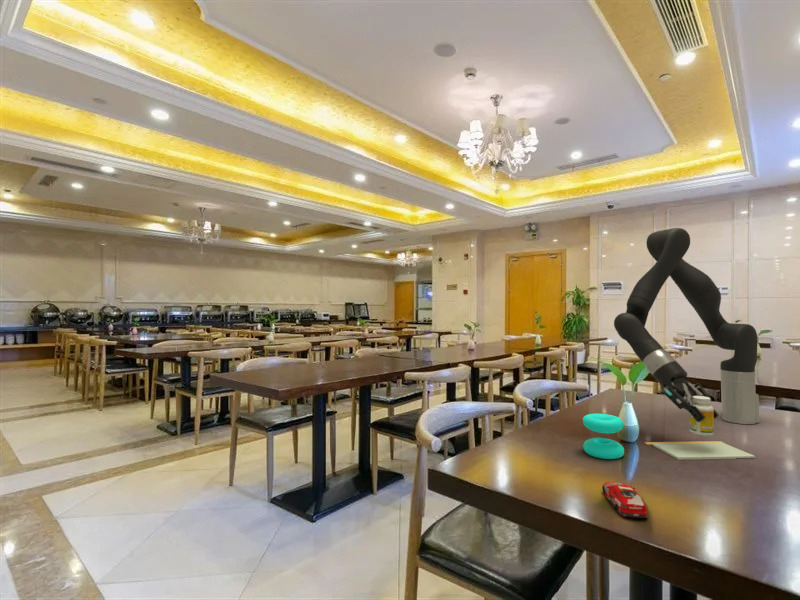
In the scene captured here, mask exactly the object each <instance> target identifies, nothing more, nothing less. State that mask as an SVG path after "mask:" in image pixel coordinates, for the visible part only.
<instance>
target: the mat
mask: <svg viewBox="0 0 800 600" xmlns="http://www.w3.org/2000/svg"><path fill="white" fill-rule="evenodd" d="M652 446H653V447H654V448H656V449H658V450H660V451H662V452H663V453H665V454H667V455H668V456H671V457H673V458H675V459H677V460H678V461H681V460H684V461H685V460H689V461H690V460H737V459H736V458H756V456H755V455H754V454H751V453H749V452H746V451H744V450H742V449H740V448H737V447H734V446H732V445H730V444H727V443H725V442H724V443H663V444H653V445H652Z"/></svg>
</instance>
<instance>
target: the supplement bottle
mask: <svg viewBox="0 0 800 600" xmlns="http://www.w3.org/2000/svg"><path fill="white" fill-rule="evenodd" d="M710 398H711V397H710ZM710 398H709V397H705V396H696V395H695V396H693V397H692V401H693V402H694V403H693V404H694V406H696V407H697V408H698V409H699V411H700V412H701V413H702V414H703V415H704V416H705V419H704V420H702V421H701V422H697V421H696V420H695V419H694V417H693V416H692V415H691V414H690V413H689V412H688V413H689V416H688V417H689V420H688V421H689V424H688V427H689V432H691V433H692V434H695V435H698V436H699V435H700V436H713V435H714V434H715V431H714V430H715V429H714V427H715V425H714V422H715V419H714V410H715V409H714V407H713V406H712V405H711V401H712V400H711V399H712V398H711V399H710ZM709 404H710V405H711V406H710V405H709Z"/></svg>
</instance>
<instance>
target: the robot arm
mask: <svg viewBox="0 0 800 600" xmlns="http://www.w3.org/2000/svg"><path fill="white" fill-rule="evenodd" d="M690 245H691V236H690V234H689V232H688V231H687V230H686V229H685V228H682V227H673V228H668V229H667V228H666V229H663V230H662V229H661V230H658V231H654V232H651V233H650V234H649V235H648V236H647V237H646V249H647V250H648V253H649V254H650V256H651V257H652V258H653V259H654V260H655V263H654V264H653V266H652V267H651V268H650V269H649V270H648V271H646V272H645V274H644V275H643V276H642V277H640V279H639V280H638V281H637V282H636V283H635V285H634V287H633V289H632V291H631V293H630V295H629V297H628V298H627V301H626V311H625V312H621V313H620V314H618V315H616V316H615V319H614V321H613V326H614V329H615V331H616V333H617V334H618V335H619V337H620V338H621V339H622V340H624V341H626V342H627V343H628V344H629V346H630V347H631V349H632V350H633V352H634V354H635V355H636V356H637V358H639V360H640V361H641V362H642V363H643V365H644V366H645V368H646V369H647V370H648V372H649V373H650V375H652V377H654V379H655V381H657V382H658V384H659V385H660V386H661V387H662V388H663V389H664V390H663V391H662V393H663V394H664V396H666V398H668V399H669V400H670V401H671V402H672V403H673V404H674V405H675V407H677V408H678V409H679V410H682V409H684V410H685V411H687V412H688V413H690V414H691V415H692V416H693V417H694V419H695V420H696V421H697V422H701V421H702V420H704V419H705V416H704V415H703V414H702V413H701V412H700V411H699V409H698V408H697V407H696V406H694V404H693V403H694V402H693V401H692V397H693V396H704V397H709V398H710V399H711V401H712V397H710V395H709V394H708V392H707V391H706V390H705V388H704V387H703V386H702V384H701V383H699V382H697V383H694V384H693V383H692V382H691V381H689V380H688V379H687V377H688V373H687V371H686V370H685V369H684V367H682V366H681V364H680V363H679V362H678V361H677V360H676V359H675V358H674V357H673V355H671V354H670V353H669V352H668V351H667V350H666V349H664V347H663V346H662V345H661V344H660V343H659V342H658V340H656V339H655V338H654V337H653V336H652V334H651V333H650V332H649V331H648V330H647V328H646V323H647V321H648V316H649V313H650V310H651V309H652V308H653V305H654V302H655V301H656V299H657V296H658V295H659V293H660V291H661V289H662V287H663V286H664V284H665V282H666V281H667V279H668V278H671V280H672V281H673V282H674V283H675V285H676V286H677V287H678V289H679V290H680V292H681V293H682V294H683V296H684V297H685V300H686V301H687V302H688V304H690V305H691V307H692V308H693V309H694V311H695V312H696V313H697V315H698V316H699V318H700V321H702V323H703V324H704V326H705V328H706V330H707V332H708V334H709V335H710V337H711V339H712V340H713V342H714V344H715V345H716V346H717V347H719V348H721V349H723V350H727V351H734V353H733V356H732V357H731V358H729V359H725V360H722V361H720V366H719V367H720V393H721V394H720V396H721V400H720V401H721V419H722V420H723V421H726V422H729V423H734V424H741V425H755V424H759V423H760V397H759V394H758V393H756V365H757V362H758V343H759V342H758V341H759V340H758V339H759V338H758V332H757V330H756V328H755V327H754V326H753V325H751V324H748V323H729V322H728V321H727V320H726V319H725V318H724V316H723V315H722V314H721V311H720V307H721V302H722V294H721V292H720V290H719V288H718V286H717V285H716V284H715V282H714V280H712V278H711V277H710V276H709V275H708V274H706V273H705V272H704V271H702V270H701V269H699V268H697V267H695V266H693V265H692V264H690V263H688V262H687V261H686V260H684V259H683V258H684V256H685V255H686V253H687V252H688V250H689V248H690ZM709 405H710V406H712V405H711V403H710V404H709ZM719 416H720V415H719V413H718V412H717V411H716V410H715V409H714V420H715V419H717V418H718V417H719Z"/></svg>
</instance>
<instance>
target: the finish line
mask: <svg viewBox="0 0 800 600" xmlns="http://www.w3.org/2000/svg"><path fill="white" fill-rule="evenodd" d="M663 443H725V442H723V441H721V440H719V441H718V440H717V441H716V440H714V441H713V440H712V441H711V440H710V441H709V440H707V441H706V440H705V441H701V440H700V441H649V442H648V441H645V442H644V445H647V446H653V444H663Z"/></svg>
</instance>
